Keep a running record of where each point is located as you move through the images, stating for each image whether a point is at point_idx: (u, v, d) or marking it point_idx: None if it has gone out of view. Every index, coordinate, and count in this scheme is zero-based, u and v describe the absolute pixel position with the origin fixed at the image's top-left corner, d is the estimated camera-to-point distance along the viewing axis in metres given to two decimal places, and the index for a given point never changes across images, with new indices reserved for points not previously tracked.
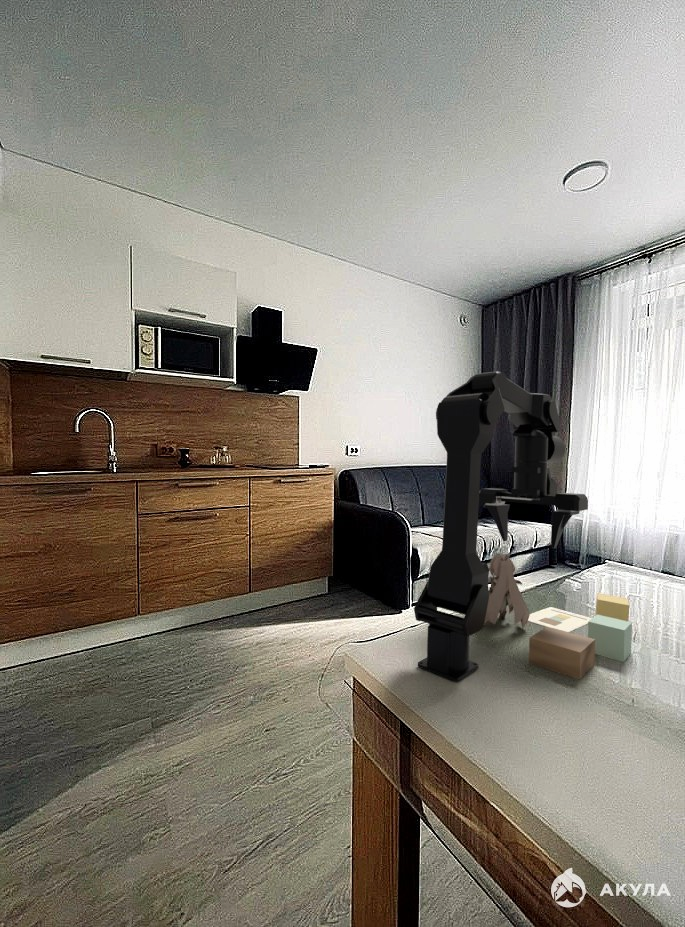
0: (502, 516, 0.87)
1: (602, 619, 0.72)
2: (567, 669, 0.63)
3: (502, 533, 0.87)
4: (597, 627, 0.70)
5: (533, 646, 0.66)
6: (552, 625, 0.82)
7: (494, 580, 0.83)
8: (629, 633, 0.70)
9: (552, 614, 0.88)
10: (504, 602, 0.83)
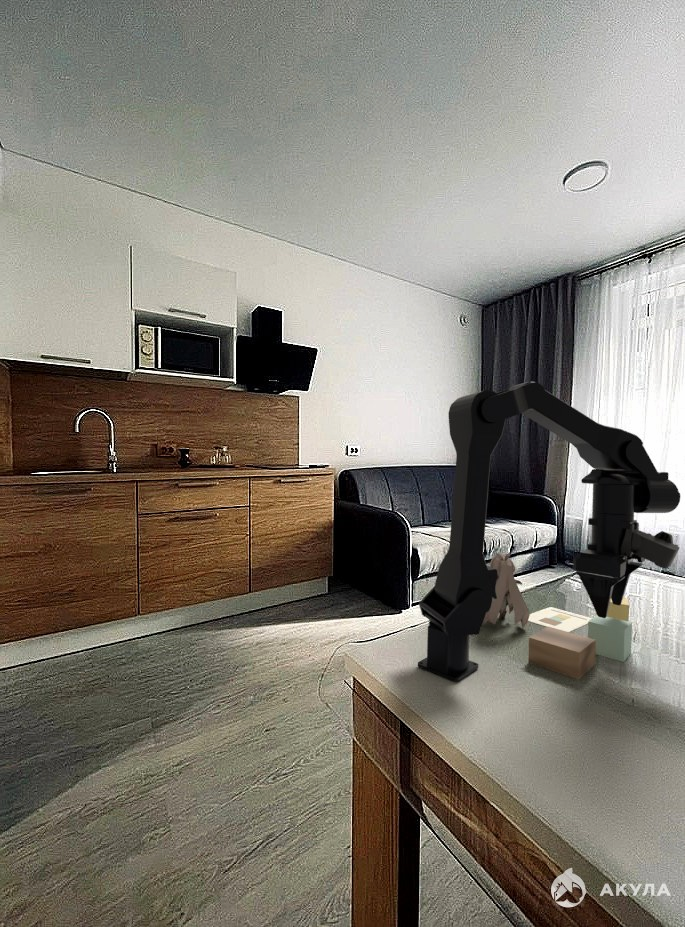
0: None
1: (602, 619, 0.72)
2: (566, 669, 0.63)
3: None
4: (597, 627, 0.70)
5: (532, 646, 0.66)
6: (552, 625, 0.82)
7: None
8: (629, 633, 0.70)
9: (552, 614, 0.88)
10: (504, 602, 0.83)
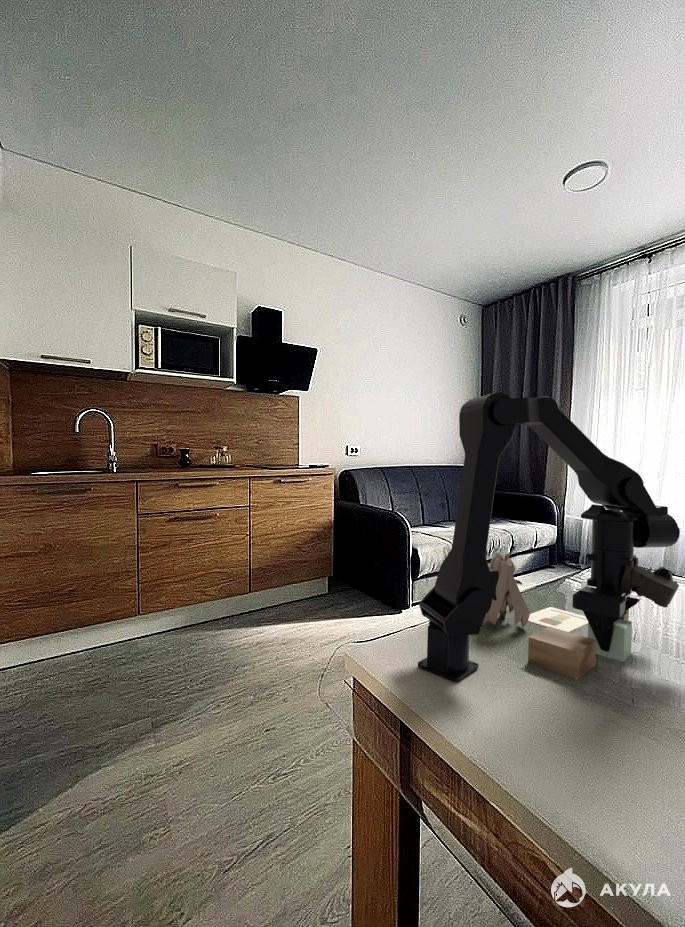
0: None
1: None
2: (566, 669, 0.63)
3: None
4: None
5: (532, 645, 0.67)
6: (552, 625, 0.82)
7: None
8: (629, 632, 0.70)
9: (552, 614, 0.88)
10: (504, 602, 0.83)
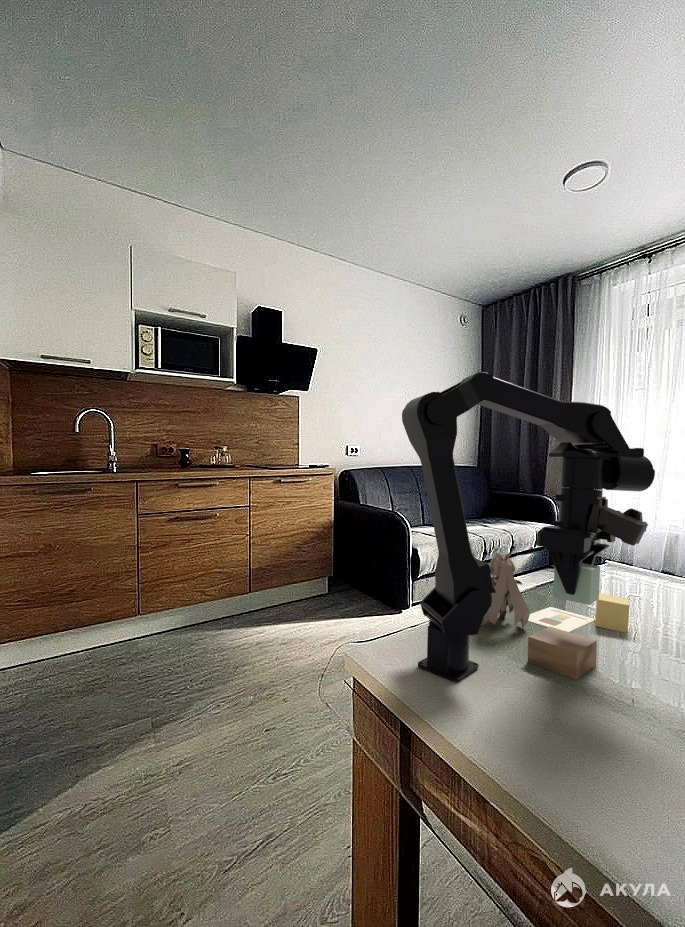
0: None
1: None
2: (564, 669, 0.63)
3: None
4: None
5: (532, 645, 0.67)
6: (552, 625, 0.82)
7: (494, 580, 0.83)
8: (597, 576, 0.67)
9: (552, 614, 0.88)
10: (504, 602, 0.83)
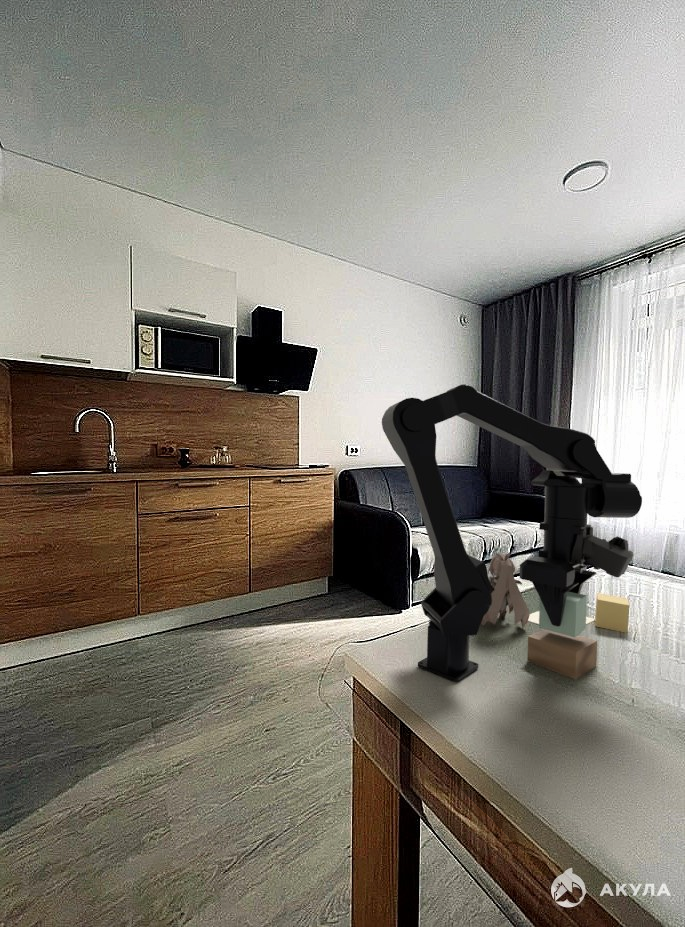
0: None
1: None
2: (564, 669, 0.63)
3: None
4: None
5: (531, 645, 0.67)
6: None
7: (494, 580, 0.83)
8: (583, 606, 0.66)
9: None
10: (504, 602, 0.83)
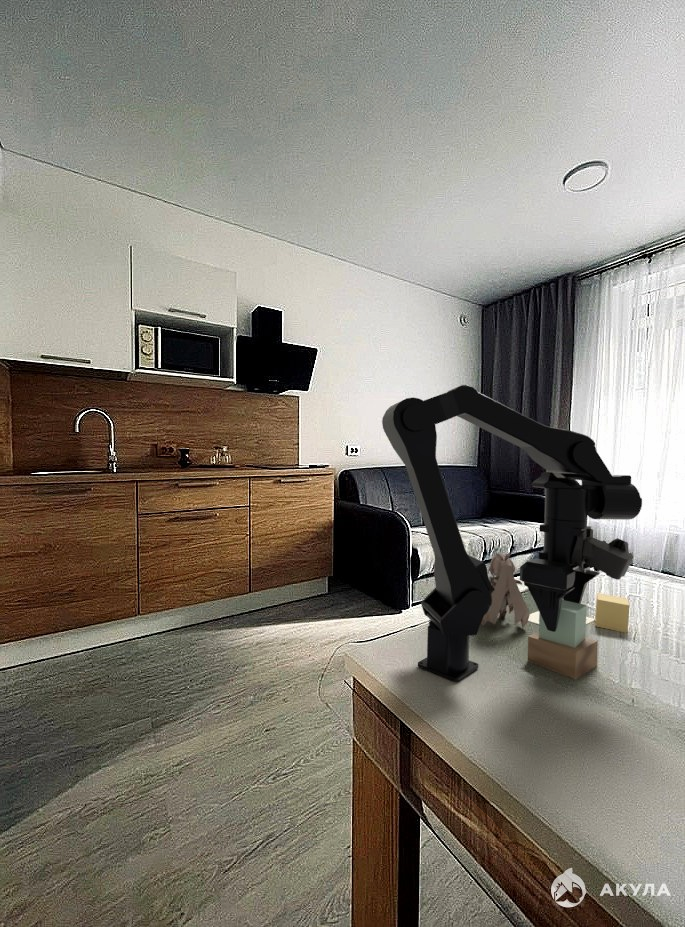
0: None
1: None
2: (564, 669, 0.63)
3: None
4: None
5: (531, 644, 0.67)
6: None
7: (494, 580, 0.83)
8: (582, 616, 0.66)
9: None
10: (504, 602, 0.83)
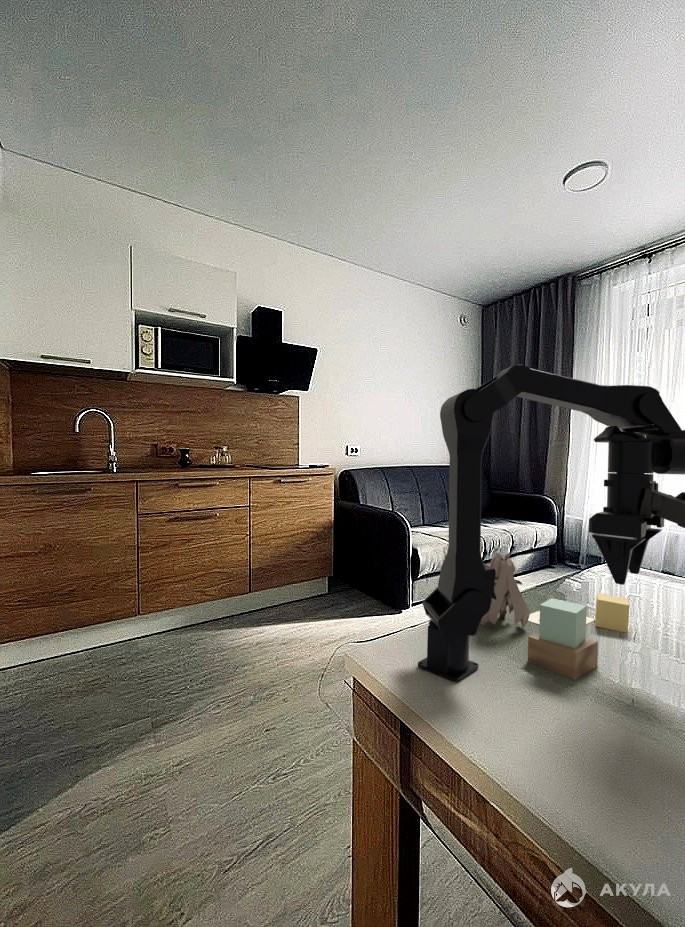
0: None
1: (555, 603, 0.68)
2: (563, 669, 0.63)
3: None
4: (549, 611, 0.66)
5: (531, 645, 0.67)
6: None
7: None
8: (583, 617, 0.66)
9: None
10: (504, 602, 0.83)
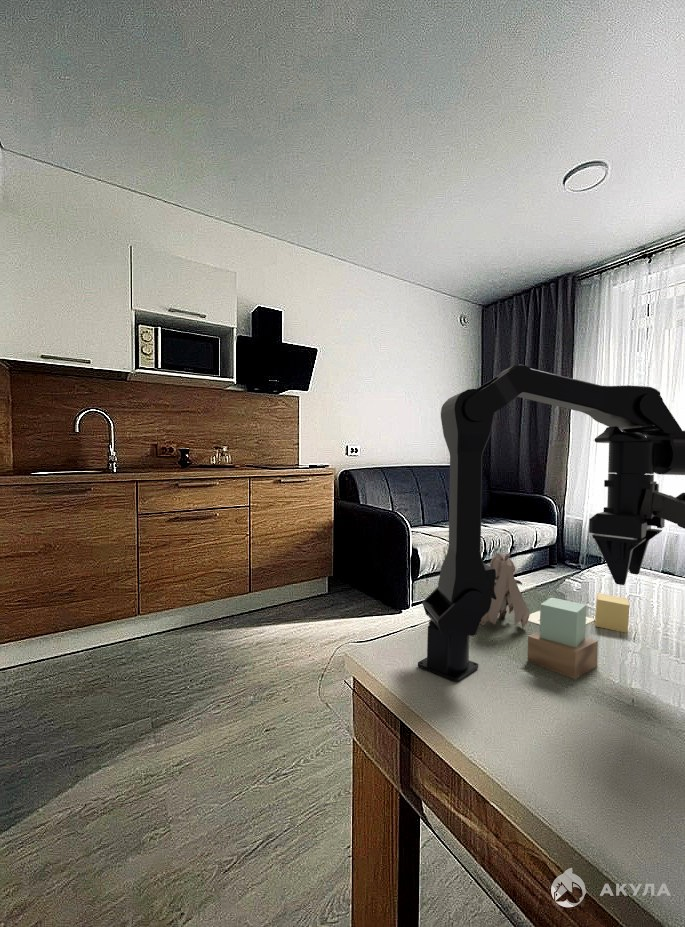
0: None
1: (555, 602, 0.68)
2: (563, 669, 0.63)
3: None
4: (549, 610, 0.66)
5: (531, 644, 0.67)
6: None
7: None
8: (583, 616, 0.66)
9: None
10: (504, 602, 0.83)
